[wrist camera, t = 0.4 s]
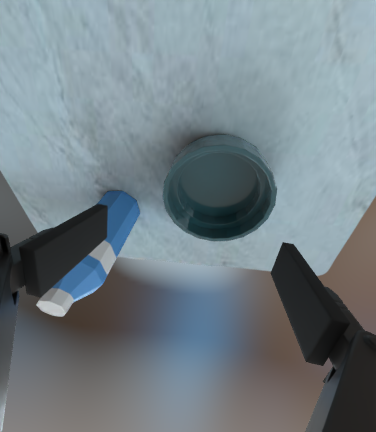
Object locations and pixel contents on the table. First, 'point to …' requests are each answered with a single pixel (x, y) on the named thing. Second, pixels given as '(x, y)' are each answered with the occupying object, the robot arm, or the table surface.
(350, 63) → the table surface
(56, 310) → the water bottle
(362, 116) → the table surface
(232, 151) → the wash bowl
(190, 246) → the table surface
